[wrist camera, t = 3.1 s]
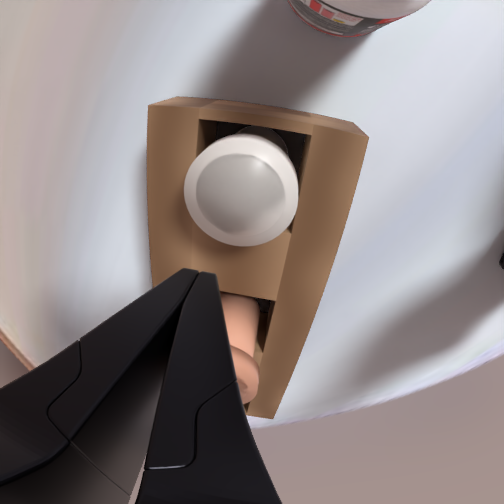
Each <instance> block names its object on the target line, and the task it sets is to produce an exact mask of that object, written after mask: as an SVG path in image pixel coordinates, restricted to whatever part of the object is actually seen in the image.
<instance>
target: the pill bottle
mask: <svg viewBox="0 0 504 504" xmlns="http://www.w3.org/2000/svg"><path fill="white" fill-rule="evenodd" d="M430 1H431V0H288V2H289V4H290V6H291V8H292V9H293V11H294V12H295V13H296V15H297V16H298V17H299V18H300V19H301V20H303V21H304V22H305V23H306V24H308V25H309V26H311V27H312V28H314V29H316V30H318V31H320V32H323V33H325V34H329V35H332V36H338V37H356V36H362V35H365V34H368V33H371V32H373V31H375V30H377V29H379V28H381V27H383V26H385V25H387V24H389V23H391V22H394V21H396V20H398V19H401V18H403V17H405V16H408V15H410V14H412V13H414V12H416V11H418V10H419V9H421V8H422V7H424V6H425V5H427V4H428V3H429V2H430Z"/></svg>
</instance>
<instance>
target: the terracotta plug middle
mask: <svg viewBox="0 0 504 504" xmlns="http://www.w3.org/2000/svg"><path fill="white" fill-rule="evenodd" d="M220 295H221V300H222V306H223V311H224V316H225V322H226V327H227V332H228V337H229V342H230V347H231V352H232V357H233V362H234V367H235V371H236V376H237V383H238V385H239V389H240V394H241V398H242V402H243V404H245V403H248V402H250V401H251V400H252V399H254V398H255V396H256V394H257V390H258V383H259V376H260V369H259V366H258V364H257V362H256V361H255V360H254V359H253V356H254V349H255V343H256V337H257V330H258V324H259V317H260V307H259V305H258V303H257V301H256V300H255V299H254V298H253V297H251V296H246V295H240V294H235V293H229V292H224V291H220Z"/></svg>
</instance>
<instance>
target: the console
mask: <svg viewBox="0 0 504 504" xmlns="http://www.w3.org/2000/svg"><path fill="white" fill-rule="evenodd" d="M217 121H224V122H232V123H240V124H248V125H255V126H262V127H268V128H274V129H280V130H286V131H292V132H297V133H303V134H305V139H304V144H303V150H302V155H301V160H300V165H299V170H298V175H297V179H298V205H297V210H296V213H295V215H294V218H293V220H292V221H291V223H290V224H289V226H288V227H287V228H286V229H285V231H283V232H282V233H281V234H280V235H279V236H277V237H276V238H274V239H272V240H270V241H268V242H266V243H263V244H260V245H255V246H234V245H229V244H226V243H223V242H220V241H218V240H216V239H214V238H212V237H211V236H209V235H208V234H206V233H205V232H204V231H203V230H202V229H201V228H200V227H199V226H198V225H197V224H196V223H195V221H194V220H193V218H192V217H191V215H190V213H189V211H188V209H187V206H186V203H185V197H184V183H185V178H186V175H187V172H188V170H189V168H190V166H191V164H192V163H193V161H194V160H195V159H196V158H197V157H198V156H199V155H200V154H201V153H202V152H203V151H204V150H205V149H206V148H207V147H208V146H209V145H211V144H212V143H214V142H215V141H216V130H217ZM368 140H369V137H368V136H367V135H366V134H365V133H364V132H363V131H362V130H361V129H360V128H359V127H357V126H356V125H355V124H354V123H353V122H349V121H345V120H340V119H336V118H332V117H327V116H322V115H318V114H313V113H308V112H303V111H297V110H292V109H286V108H280V107H274V106H267V105H260V104H253V103H245V102H237V101H228V100H218V99H207V98H194V97H174V98H171V99H167V100H164V101H160V102H157V103H154V104H151V105H148V123H147V202H148V227H149V245H150V259H151V272H152V283H153V288H154V287H155V286H157V285H158V284H160V283H161V282H163V281H164V280H166V279H167V278H169V277H170V276H172V275H173V274H175V273H176V272H177V271H179V270H180V269H182V268H189V269H194V270H198V271H199V273H200V272H201V271H205V272H210V273H215V274H216V275H217V279H218V284H219V290H220V291H224V292H229V293H235V294H240V295H246V296H251V297H257V298H263V299H268V300H271V303H270V307H269V312H268V313H263V312H260V317H259V324H258V330H257V337H256V343H255V349H254V356H253V359H254V360H255V361H256V362H257V364H258V366H259V369H260V376H259V383H258V390H257V394H256V396H255V398H254V399H252V400H251V401H250V402H248V403H245V404H243V406H244V410H245V414H246V415H248V416H255V417H261V418H268V419H273V418H274V416H275V413H276V411H277V409H278V407H279V404H280V402H281V400H282V397H283V395H284V393H285V390H286V388H287V386H288V383H289V381H290V378H291V376H292V374H293V371H294V369H295V366H296V364H297V361H298V359H299V356H300V354H301V351H302V349H303V346H304V344H305V341H306V338H307V336H308V333H309V330H310V328H311V325H312V322H313V320H314V317H315V314H316V312H317V309H318V306H319V303H320V300H321V298H322V295H323V292H324V289H325V286H326V283H327V280H328V277H329V274H330V271H331V268H332V265H333V262H334V259H335V256H336V253H337V250H338V247H339V244H340V241H341V237H342V234H343V231H344V228H345V224H346V221H347V218H348V214H349V211H350V207H351V204H352V200H353V197H354V193H355V190H356V186H357V182H358V179H359V175H360V171H361V167H362V164H363V160H364V156H365V152H366V148H367V144H368Z"/></svg>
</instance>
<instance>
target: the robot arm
mask: <svg viewBox="0 0 504 504" xmlns="http://www.w3.org/2000/svg"><path fill="white" fill-rule="evenodd" d="M500 266H501V268H502V269H504V254H503V256H502V258H501V260H500ZM146 453H147V455H146ZM145 456H146V460H145V465H144V470H145V471H144V472H143V476H142V480H141V484H140V489H139V492H138V496H137V499H136V502H135V504H282V502H281V500H280V498H279V496H278V494H277V492H276V490H275V487H274V485H273V483H272V480H271V478H270V476H269V474H268V471H267V469H266V467H265V465H264V462H263V460H262V457H261V455H260V453H259V450H258V448H257V445H256V443H255V440H254V438H253V435H252V432H251V429H250V426H249V423H248V421H247V417H246V414H245V410H244V406H243V402H242V398H241V394H240V389H239V385H238V383H237V376H236V371H235V367H234V362H233V357H232V352H231V347H230V342H229V337H228V332H227V327H226V322H225V316H224V311H223V306H222V300H221V295H220V290H219V284H218V279H217V275H216V274H215V273H210V272H205V271H201V272H200V273H199V271H198V270H194V269H189V268H182V269H180V270H179V271H177V272H176V273H175V274H173V275H172V276H170V277H169V278H167V279H166V280H164V281H163V282H161V283H160V284H158V285H157V286H155V287H154V288H152V289H151V290H149V291H148V292H146V293H145V294H143V295H142V296H141V297H139V298H138V299H136V300H135V301H133V302H132V303H130V304H129V305H127V306H126V307H124V308H123V309H122V310H120V311H119V312H117V313H116V314H114V315H113V316H111V317H110V318H109V319H107V320H106V321H104V322H103V323H101V324H100V325H98V326H97V327H96V328H94V329H93V330H91V331H90V332H88V333H87V334H86V335H84V336H83V337H81V338H80V341H79V340H77V341H75V342H74V343H73V344H71V345H70V346H68V347H67V348H66V349H64V350H63V351H61V352H60V353H58V354H57V355H55V356H54V357H52V358H51V359H49V360H48V361H46V362H45V363H43V364H41V365H40V366H38V367H36V368H35V369H33V370H31V371H30V372H28V373H26V374H24V375H23V376H21V377H19V378H18V379H16V380H14V381H12V382H10V383H9V384H7V385H5V386H3V387H2V388H0V504H128V502H129V500H130V495H131V494H132V491H133V488H134V486H135V483H136V480H137V477H138V475H139V472H140V469H141V467H142V464H143V461H144V459H145Z"/></svg>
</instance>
